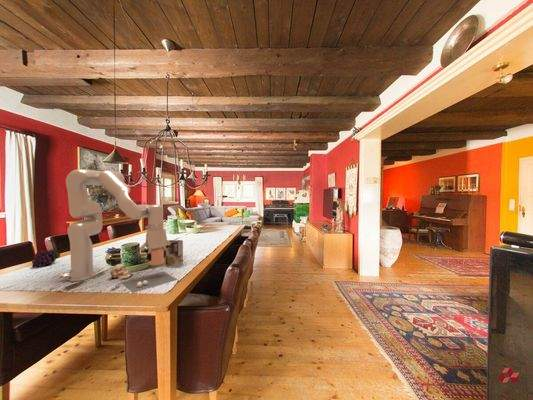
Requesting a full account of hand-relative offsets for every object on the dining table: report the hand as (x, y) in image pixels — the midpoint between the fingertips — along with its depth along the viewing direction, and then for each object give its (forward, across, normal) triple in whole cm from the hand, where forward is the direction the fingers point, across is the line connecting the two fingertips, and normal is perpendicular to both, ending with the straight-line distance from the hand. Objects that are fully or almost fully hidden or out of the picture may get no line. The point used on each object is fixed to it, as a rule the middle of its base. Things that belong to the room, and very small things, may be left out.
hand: (156, 258), depth 126 cm
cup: (+3, 0, 0) cm, 3 cm away
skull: (+11, -14, +14) cm, 23 cm away
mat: (+11, -5, -4) cm, 12 cm away
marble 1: (+10, -12, -8) cm, 17 cm away
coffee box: (+11, +16, +12) cm, 23 cm away
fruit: (+10, -40, +73) cm, 84 cm away
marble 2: (+10, -9, -8) cm, 16 cm away
